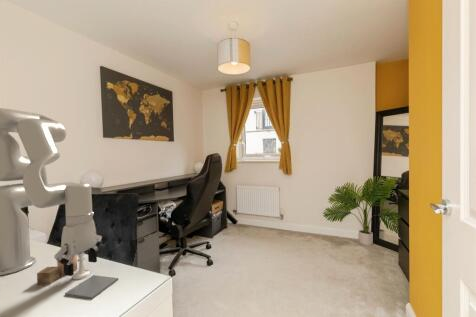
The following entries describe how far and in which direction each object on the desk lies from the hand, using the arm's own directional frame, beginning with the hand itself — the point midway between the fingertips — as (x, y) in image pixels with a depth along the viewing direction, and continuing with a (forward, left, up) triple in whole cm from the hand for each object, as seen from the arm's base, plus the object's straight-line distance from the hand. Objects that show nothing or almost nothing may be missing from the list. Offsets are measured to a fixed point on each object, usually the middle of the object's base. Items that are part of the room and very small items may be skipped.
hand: (81, 268), depth 77 cm
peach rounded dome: (-8, +2, -3) cm, 9 cm away
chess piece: (0, 0, -3) cm, 3 cm away
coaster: (+10, -5, -3) cm, 11 cm away
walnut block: (-8, -5, -3) cm, 10 cm away
